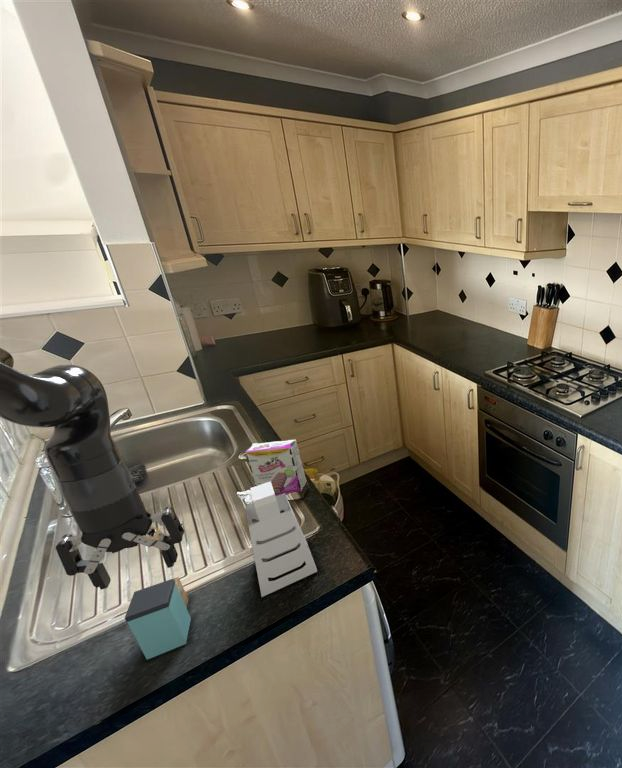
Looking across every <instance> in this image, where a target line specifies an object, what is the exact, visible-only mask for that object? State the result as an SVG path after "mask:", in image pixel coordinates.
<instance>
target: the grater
mask: <svg viewBox="0 0 622 768" xmlns="http://www.w3.org/2000/svg"><path fill="white" fill-rule="evenodd" d="M249 489H250V493H251V498H252V502H253V504H249V505H247V506H245V507H244V509H245V513H246V519H247V520H246V521H247V526H248V531H249V537H250V542H251V546H252V553H253V557H254V558H253V559H254V563H255V568H256V573H257V579H258V585H259V590H260V597H261V598H263V597H265V596H267V595H269V594H272V593H274V592H277V591H278V590H280V589H283V588H285V587H287V586H289V585H291V584H293V583H296V582H297V581H300V580H302V579H305V578H307V577H308V576H311V575H313V574H315V573H318V569H317V566H316V563H315V560H314V557H313V554H312V552H311V549H310V547H309V544H308V541H307V539H306V537H305V535H304V532H303V530H302V528H301V525H300V524H299V521H298V519H297V517H296V514H295V512H294V510H293V508H292V506H291V504H290V502H289V501H288V499H287V497H286V494H285V493H284V494H281V495H278V496H275V493H274V490H273V487H272V483H271V481H270V482H267V483H264V484H261V485H258V486H252V487H250V488H249ZM281 511H283V512H281ZM253 520H258V521H253ZM303 564H305V565H304V566H303V567H301V566H302V565H303ZM299 567H301V568H299ZM297 568H299V569H297ZM295 569H297V570H295ZM293 570H295V571H293ZM290 571H293V572H291V573H288V572H290ZM286 573H288V574H286ZM284 574H286V575H284ZM281 575H284V576H282V577H280V578H278V579H275V580H269V578H271V579H273V578H276V577H279V576H281Z"/></svg>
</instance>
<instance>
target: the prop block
mask: <svg viewBox="0 0 622 768" xmlns="http://www.w3.org/2000/svg"><path fill="white" fill-rule="evenodd" d="M174 580H175V583H176V585H177V588H178V590H179V592H180V595H181V597H182V599H183V601H184V604H185V606H186V608H187V609H188V604H189V597H188V594H187V593H186V590H185V589H184V586H183V583H182V581H181V578H180V577H179V576H177V577H174Z"/></svg>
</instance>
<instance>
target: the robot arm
mask: <svg viewBox="0 0 622 768" xmlns="http://www.w3.org/2000/svg"><path fill="white" fill-rule="evenodd" d="M14 363H15V361H14V357H13V356H12V354H11V353H10V352H9V351H7V350H6V349H4V348H2V347H0V418H1V419H3V420H5V421H7V422H10V423H13V424H16V425H19V426H24V427H28V428H36V429H37V428H41V429H45V428H52V427H53V433H52V435H51V436H50V438H48V440H47V442H46V443H45V444H44V446H43V453H44V456H45V459H46V461H47V463H48V465H49V467H50V469H51V471H52V473H53V475H54V476H55V478H56V481H57V483H58V487H59V490H60V493H61V496H62V498H63V500H64V502H65V504H66V506H67V508H68V510H69V512H70V514H71V515H72V517H73V519H74V521H75V523H76V526H77V527H78V529H79V531H80V532H81V533H79V534H77V535H76V534H75V535H73V534H71V533H66V534H63V535H62V537H61V538H60V540H59V541H58V542H57V544H56V546H55V550H56V552H57V555H58V557H59V559H60V562H61V564H62V567H63V569H64V571H65V573H66V575H67V576H70V577H72V576H76V575H77V574H81V573H82V574H86V575H87V576H88V578H89V580H90V582H91V583H92V586H93V587H94V588H97V589H98V588H99V589H100V590H105V589H108V588H109V586H110V584H111V580H112V579H111V577H110V575H109V573H108V571H107V568H106V566H105V565H104V562H101V561H102V559H103V557H104V555H105V554H106V553H111V554H115V553H119V552H121V551H122V550H125V549H131V548H135V547H138V546H139V545H142V546H145V547H148V548H151V547H154V548H156V549H159V550H160V554H161V557H162V558H163V561H164V563H165V565H166V568H167V569H169V568H172V567H174V566H175V563H177V560H178V556H179V554H178V550H177V548H176V546H175V544H180V543H181V542H182V541H183V537H184V534H185V529H184V527H183V525H182V523H181V521H180V519H179V517H178V516H177V513H176V512H175V510H174V508H173V507H172V506H166V507H164V509H163V510H162V511H160V512H156V513H152V514H151V513H150V512H148V511H147V510H146V506H145V503H144V501H143V500H142V497H141V495H140V492H139V490H138V488H137V486H136V483H135V482H136V481H135V479H134V476H132V473H131V472H130V469H129V468H128V467H127V465H126V463H125V462H124V461H123V459H122V456H121V455H120V452H119V449H118V447H117V445H116V443H115V441H114V439H113V436H112V434H111V433H112V432H111V416H110V409H109V402H108V396H107V392H106V389H105V387H104V385H103V383H102V382H101V380H100V379H99V378H98V377H97V376H96V375H95V374H94V373H93V372H91V371H90V370H89V369H88V368H85V367H82V366H80V365H76V364H69V363H67V364H58V365H54V366H51V367H48V368H45V369H43V370H41V371H39V372H36V373H34V374H28V373H24V372H21V371H19V370H17V369H15V368H14ZM153 523H158V525H160V526H161V527H163V526H164V527H165V529H166V531H167V533H165V532H162V531H161V529H160V528H158V527H155V526H153V525H152V524H153ZM82 544H83V545H86V546H88V547H92V548H94V549H95V550H94V551H93V553H92V555H91V557H90V559H83V557H82V555H81V553H80V550H79V547H81V545H82Z"/></svg>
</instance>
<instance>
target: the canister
mask: <svg viewBox="0 0 622 768" xmlns="http://www.w3.org/2000/svg"><path fill="white" fill-rule="evenodd" d="M174 578H175V577H174ZM174 578H171V579H167V580H165V581H161V582H159V583H155V584H153V585H150V586H146V587H144V588H142V589H139V590H135V591H134V592H133V594H132V596H131V597H132V598H131V600H130V602H129V606H128V607H127V611H126V614H125V616H124V620H125V622H126V623H127V625H128V627H129V629H130V631H131V633H132V635H133V636H134V639H135V640H136V642H137V644H138V645H139V648H140V650H141V652H142V654H143V656H144V657H145V659H146V661H148V660H150V659H153V658H155V657H158V656H160V655H163V654H164V653H168V652H170V651H172V650H174V649H177V648H179V647H182V646H184V645H186V644H187V642H188V641H187V640H188V635H189V631H190V626H191V621H192V617H191V615H190V613H189V611H188V607H187V608H186V606H185V604H184V601H183V599H182V597H181V595H180V592H179V590H178V588H177V585H176V583H175V580H174Z"/></svg>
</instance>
